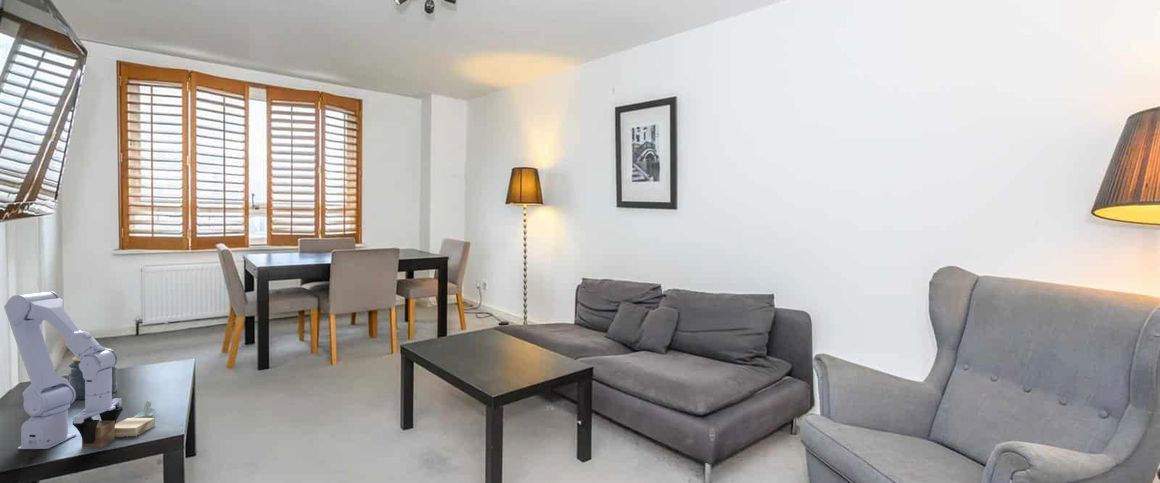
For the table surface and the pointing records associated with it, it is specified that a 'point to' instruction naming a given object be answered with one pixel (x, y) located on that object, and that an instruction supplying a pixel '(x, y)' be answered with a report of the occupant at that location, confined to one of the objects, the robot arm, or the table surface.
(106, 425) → the walnut cube
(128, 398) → the table surface
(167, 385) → the table surface
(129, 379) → the table surface
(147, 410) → the pacifier
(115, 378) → the canister
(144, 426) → the maple block
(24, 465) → the table surface
